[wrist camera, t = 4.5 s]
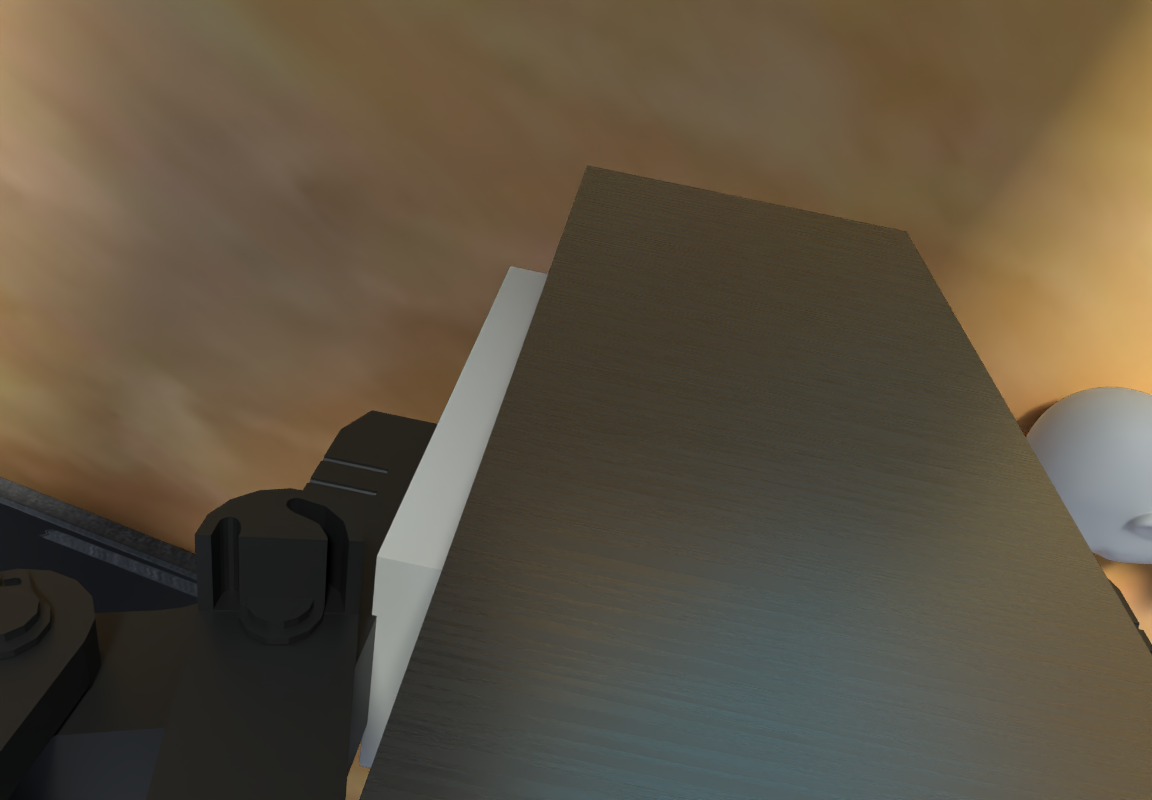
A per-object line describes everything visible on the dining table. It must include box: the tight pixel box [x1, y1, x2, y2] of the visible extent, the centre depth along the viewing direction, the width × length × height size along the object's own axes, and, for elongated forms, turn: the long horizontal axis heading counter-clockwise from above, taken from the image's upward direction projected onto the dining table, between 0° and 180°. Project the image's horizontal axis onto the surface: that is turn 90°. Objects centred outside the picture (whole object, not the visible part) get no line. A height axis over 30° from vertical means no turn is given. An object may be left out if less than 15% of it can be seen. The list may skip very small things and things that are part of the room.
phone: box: [0, 477, 198, 613], centre depth 32 cm, size 8×1×15 cm
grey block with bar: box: [359, 166, 1152, 800], centre depth 11 cm, size 8×12×12 cm
